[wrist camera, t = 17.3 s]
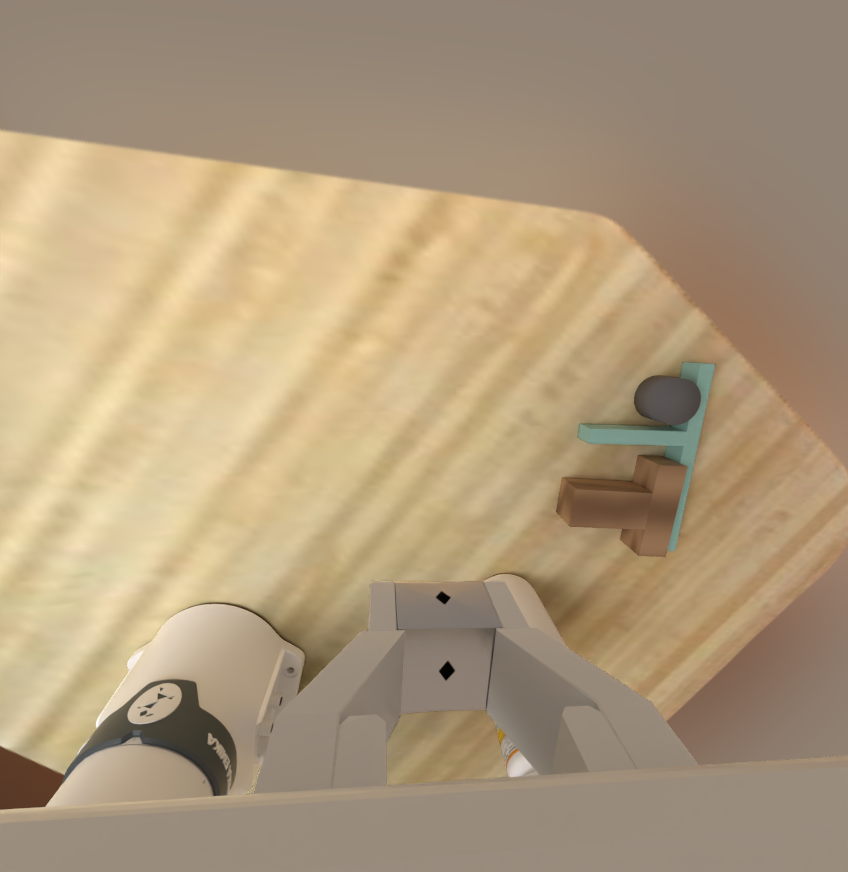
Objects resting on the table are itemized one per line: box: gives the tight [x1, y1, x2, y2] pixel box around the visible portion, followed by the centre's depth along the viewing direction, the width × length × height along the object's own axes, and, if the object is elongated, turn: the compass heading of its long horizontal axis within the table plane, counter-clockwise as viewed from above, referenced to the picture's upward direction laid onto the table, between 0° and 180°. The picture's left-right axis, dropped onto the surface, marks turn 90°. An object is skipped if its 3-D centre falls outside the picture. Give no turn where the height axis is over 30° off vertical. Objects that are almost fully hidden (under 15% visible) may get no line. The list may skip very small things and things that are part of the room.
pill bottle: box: [484, 574, 567, 647], centre depth 38 cm, size 8×8×15 cm
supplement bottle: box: [495, 723, 539, 777], centre depth 44 cm, size 5×5×10 cm
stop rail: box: [578, 362, 715, 551], centre depth 41 cm, size 20×12×2 cm, turn 177°
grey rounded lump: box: [634, 376, 701, 425], centre depth 39 cm, size 4×4×4 cm
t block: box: [556, 455, 688, 557], centre depth 41 cm, size 10×11×4 cm
